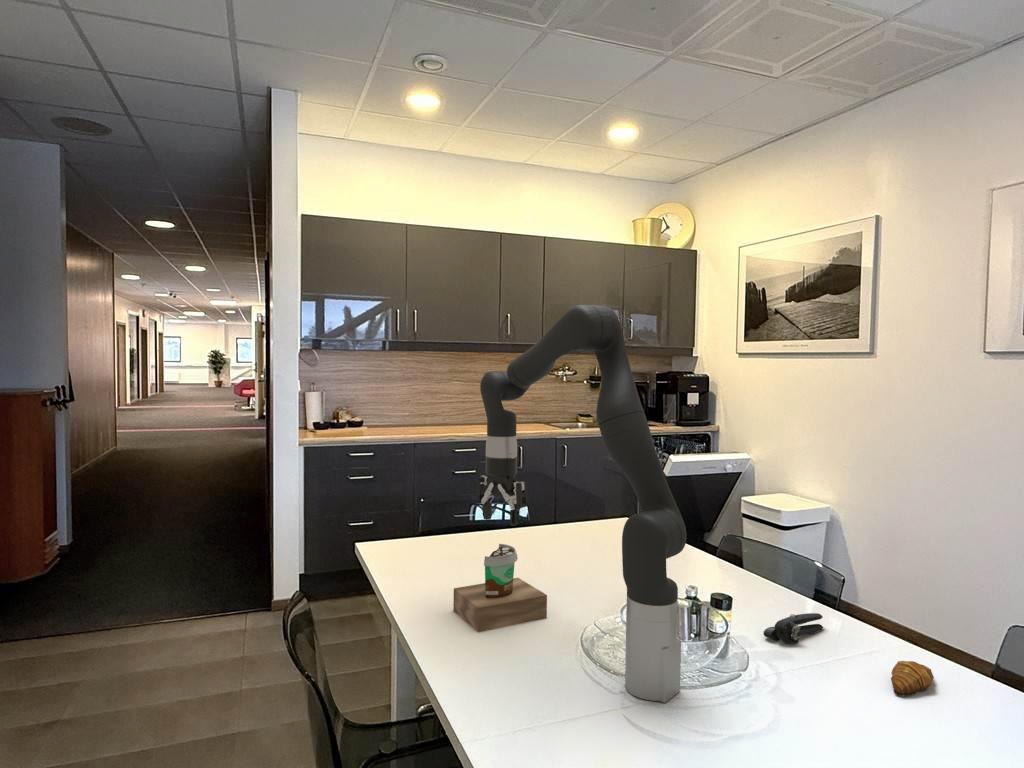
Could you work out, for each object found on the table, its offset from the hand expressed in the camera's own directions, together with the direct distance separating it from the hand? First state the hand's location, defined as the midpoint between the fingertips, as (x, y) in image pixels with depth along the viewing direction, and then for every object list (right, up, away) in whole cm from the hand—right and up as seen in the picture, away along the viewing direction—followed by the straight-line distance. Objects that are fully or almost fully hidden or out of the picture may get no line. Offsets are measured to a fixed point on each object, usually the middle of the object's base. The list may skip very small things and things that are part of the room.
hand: (500, 522), depth 150 cm
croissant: (+79, -25, -31) cm, 88 cm away
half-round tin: (+1, -17, 0) cm, 17 cm away
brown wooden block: (0, -23, +1) cm, 23 cm away
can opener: (+67, -24, -9) cm, 72 cm away
